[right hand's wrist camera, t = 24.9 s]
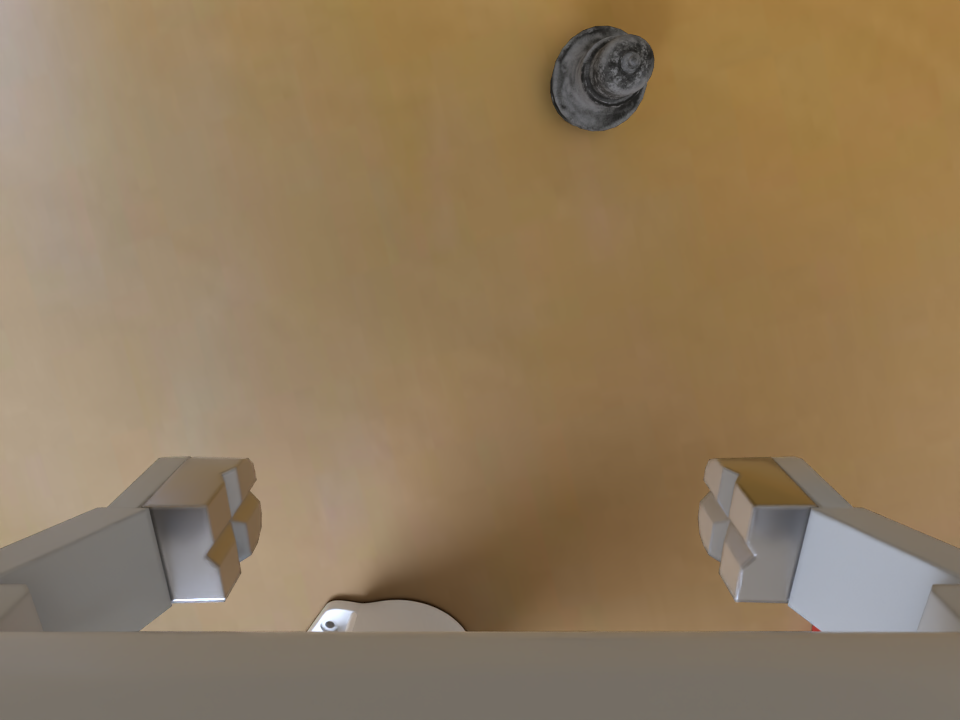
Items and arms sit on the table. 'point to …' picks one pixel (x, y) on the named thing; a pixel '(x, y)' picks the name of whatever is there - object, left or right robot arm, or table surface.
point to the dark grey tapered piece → (601, 77)
